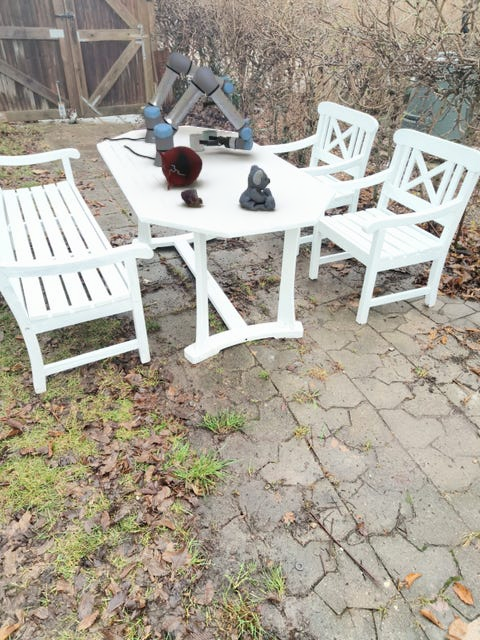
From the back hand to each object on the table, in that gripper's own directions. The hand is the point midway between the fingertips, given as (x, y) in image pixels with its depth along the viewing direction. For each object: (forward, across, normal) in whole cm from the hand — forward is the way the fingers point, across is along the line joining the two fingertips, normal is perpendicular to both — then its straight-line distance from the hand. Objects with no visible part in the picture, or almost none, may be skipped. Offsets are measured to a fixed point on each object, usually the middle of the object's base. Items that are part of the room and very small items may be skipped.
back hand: (212, 106), depth 332 cm
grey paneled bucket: (+29, +4, -24) cm, 38 cm away
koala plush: (+129, -63, -24) cm, 146 cm away
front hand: (+30, -2, -17) cm, 34 cm away
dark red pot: (+103, -13, -24) cm, 107 cm away
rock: (+136, -30, -24) cm, 141 cm away
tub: (+10, 0, -24) cm, 26 cm away
